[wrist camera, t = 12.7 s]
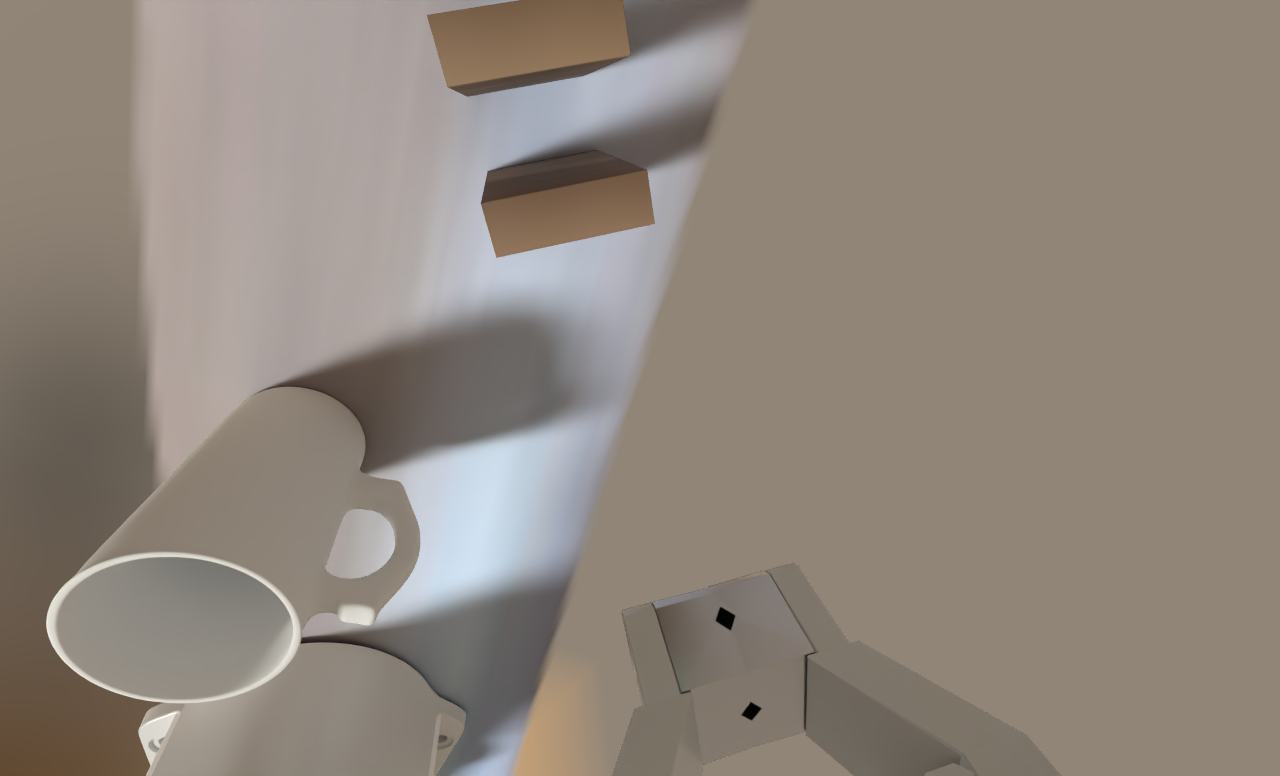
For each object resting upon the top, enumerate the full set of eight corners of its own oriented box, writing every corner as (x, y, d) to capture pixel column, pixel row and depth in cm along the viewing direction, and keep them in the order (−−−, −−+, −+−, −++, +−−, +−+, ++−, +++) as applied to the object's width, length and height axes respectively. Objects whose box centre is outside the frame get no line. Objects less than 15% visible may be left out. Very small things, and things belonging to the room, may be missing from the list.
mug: (216, 482, 28) (48, 700, 18) (227, 365, 26) (42, 538, 15) (422, 511, 32) (384, 709, 21) (449, 411, 29) (421, 577, 19)
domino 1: (582, 76, 24) (630, 55, 15) (467, 96, 23) (447, 87, 15) (575, 32, 23) (620, -16, 14) (455, 52, 23) (426, 14, 14)
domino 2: (602, 186, 26) (654, 223, 17) (497, 207, 25) (496, 257, 17) (596, 150, 25) (646, 169, 17) (487, 171, 25) (481, 203, 16)
